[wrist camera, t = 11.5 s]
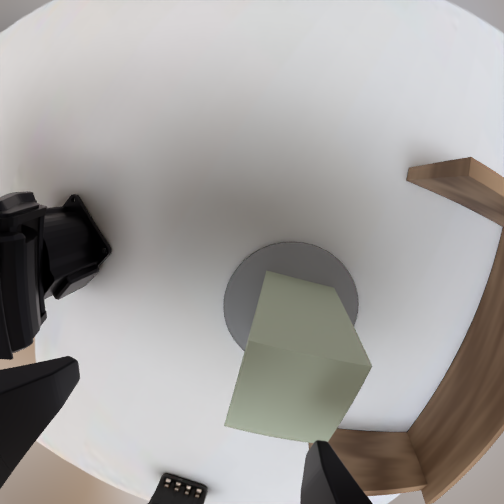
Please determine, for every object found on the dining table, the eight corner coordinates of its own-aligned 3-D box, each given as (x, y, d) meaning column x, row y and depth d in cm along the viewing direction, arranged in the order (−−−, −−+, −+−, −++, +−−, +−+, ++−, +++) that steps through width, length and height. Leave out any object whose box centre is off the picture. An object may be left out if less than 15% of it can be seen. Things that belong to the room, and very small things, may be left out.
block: (249, 331, 21) (224, 425, 11) (266, 270, 20) (248, 340, 10) (312, 346, 21) (326, 444, 11) (334, 287, 19) (372, 366, 10)
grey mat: (198, 292, 21) (196, 294, 21) (308, 213, 19) (309, 213, 19) (274, 382, 22) (274, 385, 22) (378, 320, 20) (380, 322, 20)
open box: (307, 431, 23) (310, 514, 13) (409, 168, 18) (495, 153, 8) (409, 437, 22) (433, 502, 13) (511, 219, 17) (587, 237, 7)
